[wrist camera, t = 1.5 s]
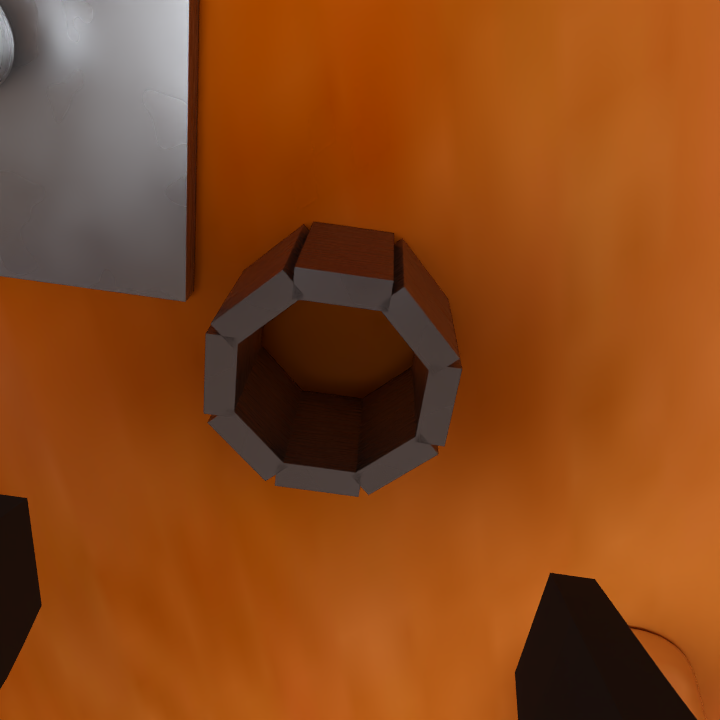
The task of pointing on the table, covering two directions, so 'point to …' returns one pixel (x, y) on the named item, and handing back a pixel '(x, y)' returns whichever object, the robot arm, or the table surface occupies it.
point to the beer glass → (673, 669)
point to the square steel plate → (99, 144)
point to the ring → (324, 411)
